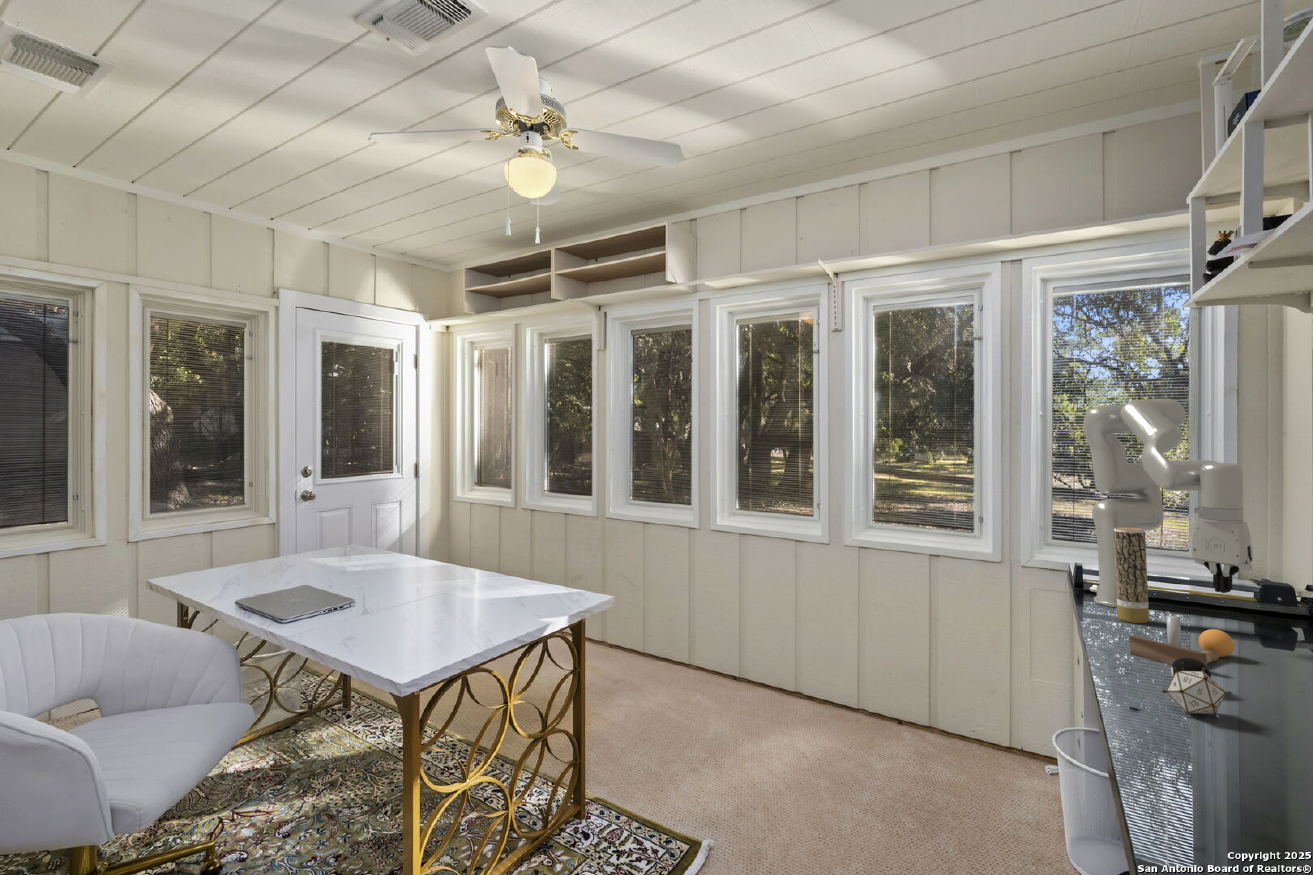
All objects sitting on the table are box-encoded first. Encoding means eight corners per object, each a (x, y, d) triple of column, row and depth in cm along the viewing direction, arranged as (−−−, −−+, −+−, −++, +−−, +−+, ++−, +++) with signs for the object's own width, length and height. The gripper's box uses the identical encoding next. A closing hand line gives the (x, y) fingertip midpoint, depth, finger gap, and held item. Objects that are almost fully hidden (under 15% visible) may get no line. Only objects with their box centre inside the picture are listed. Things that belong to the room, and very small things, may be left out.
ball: (1204, 621, 140) (1201, 629, 144) (1196, 644, 139) (1194, 652, 143) (1239, 632, 136) (1236, 641, 140) (1231, 657, 135) (1228, 665, 139)
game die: (1184, 734, 111) (1139, 682, 115) (1209, 709, 114) (1165, 659, 118) (1230, 728, 103) (1180, 673, 107) (1256, 701, 106) (1206, 649, 110)
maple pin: (1218, 649, 137) (1200, 656, 133) (1220, 660, 136) (1202, 668, 132) (1205, 648, 139) (1187, 654, 135) (1207, 658, 138) (1188, 665, 134)
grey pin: (1165, 652, 142) (1163, 615, 143) (1173, 651, 143) (1171, 615, 143) (1176, 656, 140) (1174, 618, 140) (1184, 655, 141) (1182, 617, 141)
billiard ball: (1168, 681, 126) (1167, 651, 126) (1207, 686, 123) (1205, 656, 123) (1175, 691, 121) (1174, 660, 121) (1215, 697, 118) (1214, 665, 118)
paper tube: (1155, 624, 165) (1151, 530, 165) (1129, 624, 165) (1125, 531, 165) (1136, 617, 172) (1132, 527, 172) (1111, 617, 172) (1107, 527, 172)
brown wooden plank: (1134, 652, 143) (1133, 635, 143) (1207, 672, 130) (1206, 653, 130) (1130, 653, 142) (1129, 636, 143) (1203, 673, 130) (1202, 654, 130)
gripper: (1175, 512, 152) (1176, 586, 152) (1253, 520, 138) (1254, 601, 138) (1193, 510, 155) (1194, 582, 155) (1271, 517, 141) (1272, 597, 141)
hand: (1222, 591), depth 147 cm, fingers closed
